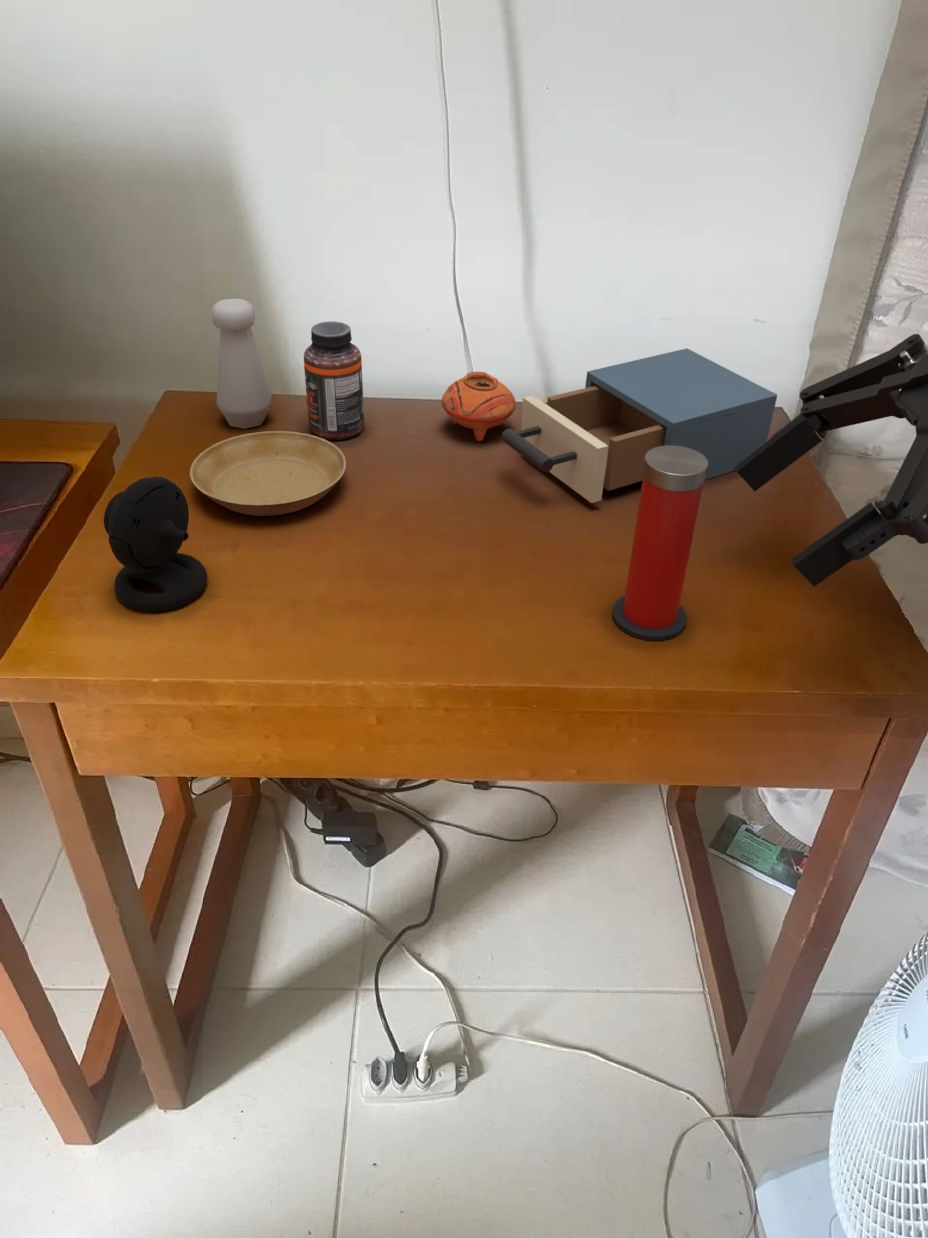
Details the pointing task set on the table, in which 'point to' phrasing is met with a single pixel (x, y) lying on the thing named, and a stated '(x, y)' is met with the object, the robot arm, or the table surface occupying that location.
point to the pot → (478, 402)
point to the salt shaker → (239, 366)
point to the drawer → (586, 439)
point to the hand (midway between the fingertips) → (770, 523)
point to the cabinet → (695, 404)
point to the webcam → (153, 545)
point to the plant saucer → (268, 472)
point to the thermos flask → (663, 534)
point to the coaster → (645, 632)
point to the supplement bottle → (333, 382)
